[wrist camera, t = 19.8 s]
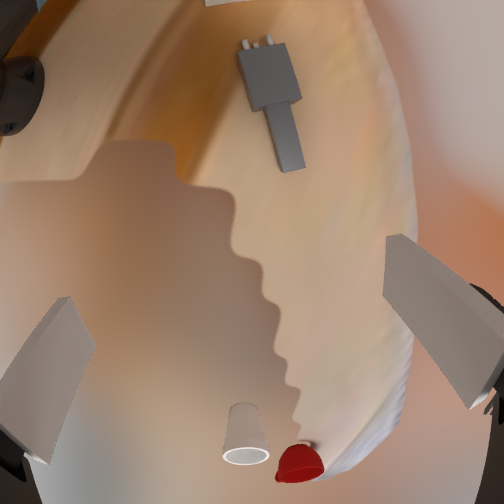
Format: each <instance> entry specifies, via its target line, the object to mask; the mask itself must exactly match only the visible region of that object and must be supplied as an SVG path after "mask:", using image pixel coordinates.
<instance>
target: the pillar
mask: <svg viewBox="0 0 504 504" xmlns="http://www.w3.org/2000/svg"><path fill="white" fill-rule="evenodd" d="M240 1H250V0H205V5H206V7H207V6H213V5H219V4H225V3H232V2H240Z"/></svg>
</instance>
